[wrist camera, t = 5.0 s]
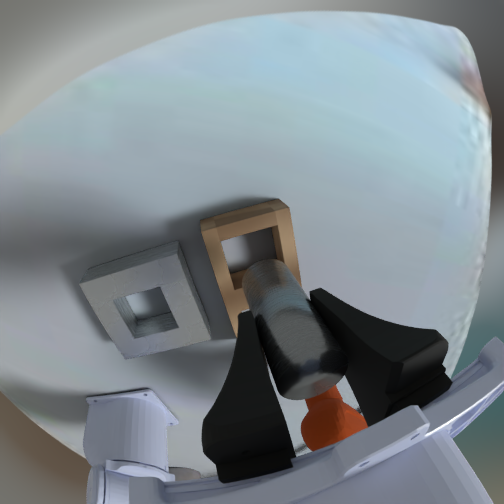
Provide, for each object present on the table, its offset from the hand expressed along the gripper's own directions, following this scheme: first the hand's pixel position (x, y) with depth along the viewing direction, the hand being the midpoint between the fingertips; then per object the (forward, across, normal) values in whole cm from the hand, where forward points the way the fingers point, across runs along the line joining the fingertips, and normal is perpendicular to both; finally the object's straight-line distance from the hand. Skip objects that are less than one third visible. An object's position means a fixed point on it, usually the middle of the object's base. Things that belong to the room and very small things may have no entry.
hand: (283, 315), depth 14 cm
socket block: (+9, +9, +2) cm, 13 cm away
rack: (+9, 0, +3) cm, 9 cm away
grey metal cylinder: (+3, 0, 0) cm, 3 cm away
